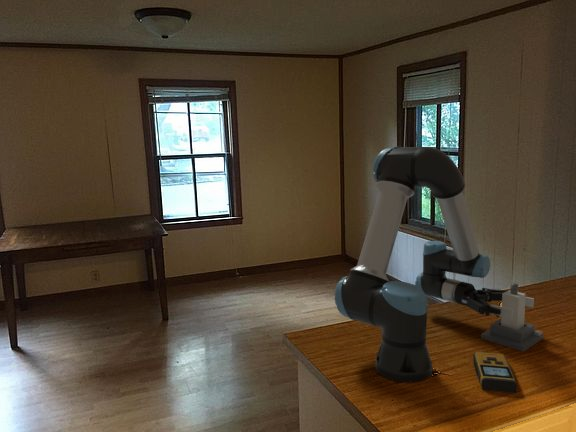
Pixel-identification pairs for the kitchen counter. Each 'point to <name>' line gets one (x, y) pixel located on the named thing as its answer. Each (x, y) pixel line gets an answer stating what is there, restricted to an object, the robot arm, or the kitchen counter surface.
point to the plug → (514, 307)
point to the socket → (513, 336)
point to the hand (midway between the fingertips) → (523, 308)
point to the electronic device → (494, 372)
